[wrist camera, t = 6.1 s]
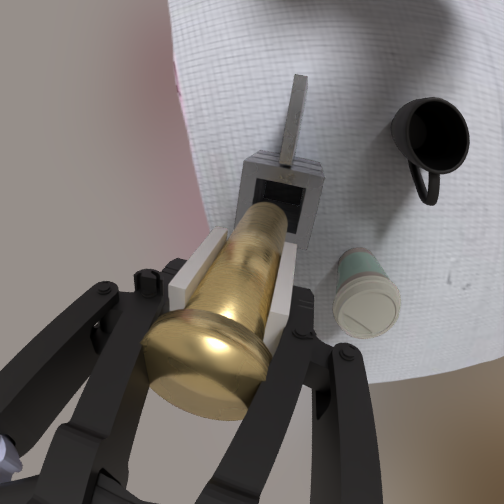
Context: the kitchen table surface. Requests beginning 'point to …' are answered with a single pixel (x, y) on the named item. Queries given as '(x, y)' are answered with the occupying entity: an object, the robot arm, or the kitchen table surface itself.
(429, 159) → the mug
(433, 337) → the kitchen table surface
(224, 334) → the pin
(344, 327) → the coffee cup
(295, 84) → the grey piece
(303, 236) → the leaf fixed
